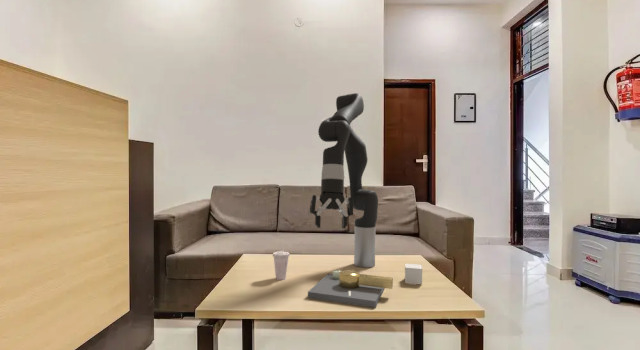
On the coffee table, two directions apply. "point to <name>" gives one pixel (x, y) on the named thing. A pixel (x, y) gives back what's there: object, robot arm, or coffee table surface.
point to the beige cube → (413, 274)
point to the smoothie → (281, 263)
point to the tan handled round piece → (363, 280)
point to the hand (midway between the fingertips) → (331, 228)
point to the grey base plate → (345, 292)
